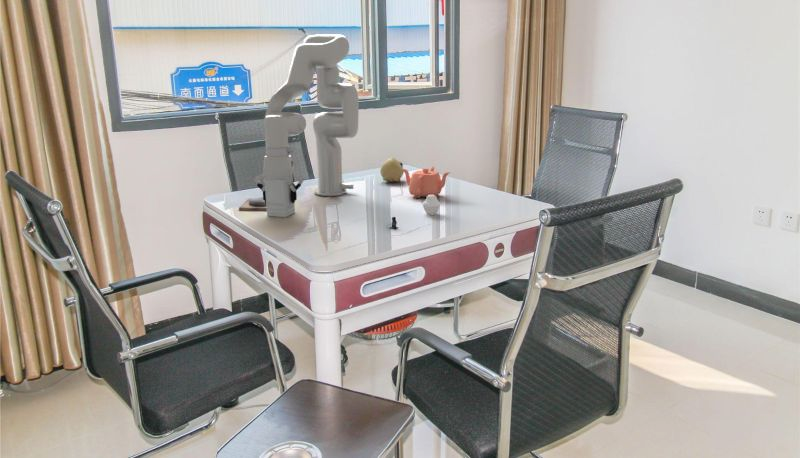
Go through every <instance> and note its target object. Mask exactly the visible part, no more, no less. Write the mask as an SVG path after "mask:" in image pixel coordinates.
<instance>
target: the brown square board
mask: <svg viewBox="0 0 800 458" xmlns="http://www.w3.org/2000/svg"><path fill="white" fill-rule="evenodd" d="M238 211H264V212H265V211H266V212H267V207H266V203H265V200H263V196H261V197H254V198H248V199H246V200H245V201H244V202H243V203H242V204H241V205H240V206H238Z"/></svg>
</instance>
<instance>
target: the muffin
mask: <svg viewBox="0 0 800 458" xmlns="http://www.w3.org/2000/svg"><path fill="white" fill-rule="evenodd" d="M425 197H426V199H425V200H424V201H423V202H422V207H423V210H424V211H425V214H426V215H428V216H435V215H437V213H438V211H439V209H440V206H441V202H440V200H438V197H437V196H435V195H432V194H431V195H428V196H425Z"/></svg>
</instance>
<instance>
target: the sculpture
mask: <svg viewBox="0 0 800 458" xmlns="http://www.w3.org/2000/svg"><path fill="white" fill-rule="evenodd" d="M397 223H398V222H397V218H396V216H393V217H391V226H389V228H388V230H395V231H396V230H398V229H399V227H398V226H397Z"/></svg>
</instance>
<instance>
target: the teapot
mask: <svg viewBox="0 0 800 458" xmlns="http://www.w3.org/2000/svg"><path fill="white" fill-rule="evenodd" d="M402 170H403V171H404V175H405V181H406V184H407V186H409V187H408V191H409V194H410V195H411V196H413V198H415V199H419V198H420V197H427V196H428V195H431V194H432V195H435V196H436V197H437V196H439V194H441V192H442V191H443V190H442V189H444V187H445V184H446V181H447V176H448V175H449V174H450V173H451V172H450V171H449V172H448V171H447V172H444V173H443V175H442V177H441V176H440V172H438V171H435V166H431V167H430V169H429V168H427V167H425V168H422V170H416V171H414V172H413V173H412V174H411V177H410V172H409V171H408V169H405V168H403V169H402Z"/></svg>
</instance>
